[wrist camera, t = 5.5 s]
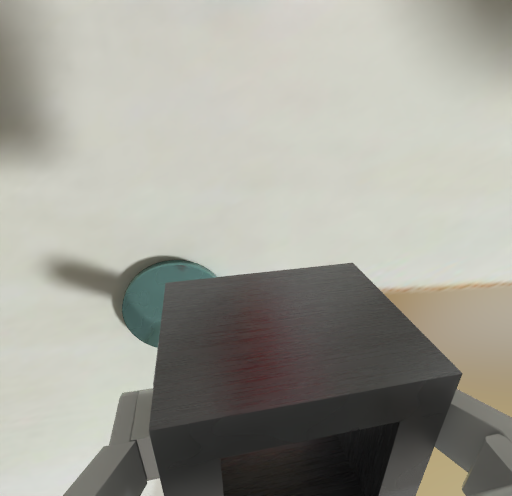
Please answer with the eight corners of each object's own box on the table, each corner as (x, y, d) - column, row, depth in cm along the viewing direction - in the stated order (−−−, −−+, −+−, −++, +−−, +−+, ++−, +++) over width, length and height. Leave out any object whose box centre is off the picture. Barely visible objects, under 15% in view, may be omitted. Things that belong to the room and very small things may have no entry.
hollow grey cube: (352, 262, 11) (462, 373, 7) (334, 390, 14) (403, 528, 9) (165, 282, 10) (148, 431, 6) (186, 416, 13) (186, 586, 8)
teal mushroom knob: (222, 255, 28) (236, 320, 20) (228, 334, 32) (241, 415, 24) (114, 266, 26) (81, 341, 18) (134, 348, 30) (115, 439, 22)
